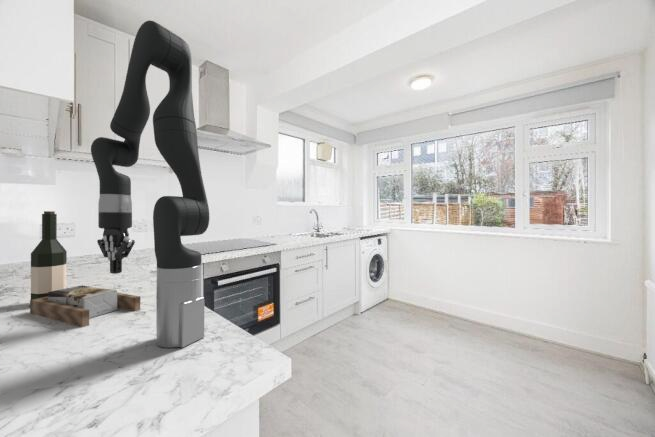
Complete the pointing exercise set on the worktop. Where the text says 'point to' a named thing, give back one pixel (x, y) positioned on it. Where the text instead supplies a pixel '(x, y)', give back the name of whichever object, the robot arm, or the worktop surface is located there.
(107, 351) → the worktop surface
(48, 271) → the wine bottle
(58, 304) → the wooden frame
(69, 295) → the coffee box
